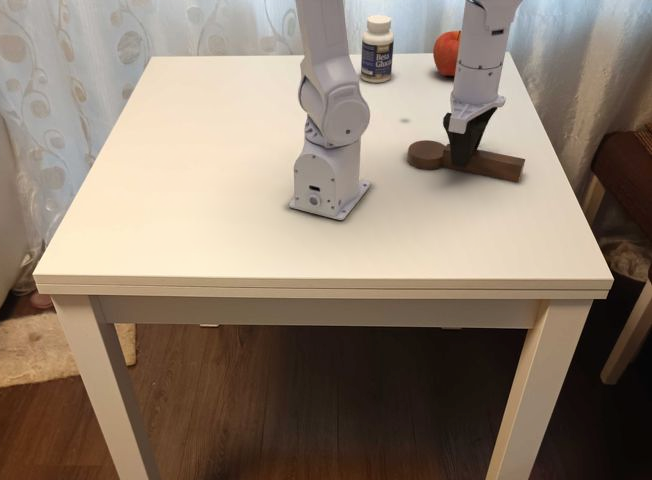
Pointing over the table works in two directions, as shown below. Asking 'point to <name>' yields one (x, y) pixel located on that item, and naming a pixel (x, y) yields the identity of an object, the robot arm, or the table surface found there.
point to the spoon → (480, 163)
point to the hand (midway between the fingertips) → (463, 158)
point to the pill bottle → (377, 49)
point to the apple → (447, 52)
